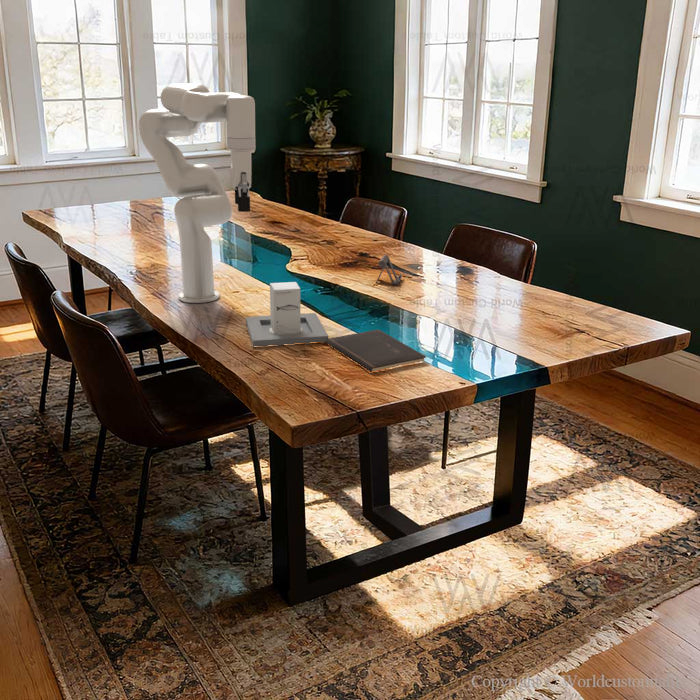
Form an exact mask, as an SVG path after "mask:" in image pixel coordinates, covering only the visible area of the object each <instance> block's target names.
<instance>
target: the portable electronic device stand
mask: <svg viewBox="0 0 700 700" xmlns="http://www.w3.org/2000/svg"><path fill="white" fill-rule="evenodd" d="M387 262H388V264H389V266H390V269H391V271H392V274H393V276H394V278H393V277H392V274H391V271H390V269H389V267H388V265H387ZM378 267H380V268H382V269H381V271H380V273H379V275H378V276H377V279H376V282H375V284H377V283H378V281H379V280H380V278H381V276H382V273H383V271H384V269H386V272H387V275H388V277H389V279H390V281H391V284H392V285H393V286H394V287H397V286H398V285H399V283H400V282H401V280H402V278H403V277H402V273H399V275H397V274H396V271H395V270H394V266H393V264H392V261H391V259H390V257H389V255H387V254H384V255H383V256H382V257H381V258H380V260H379V261H378Z"/></svg>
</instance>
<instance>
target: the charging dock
mask: <svg viewBox="0 0 700 700" xmlns="http://www.w3.org/2000/svg"><path fill="white" fill-rule="evenodd" d="M300 321H301V332H300V333H282V334H274V332H273V330H272V328H271V315H258V316H245V326H246V325H247V326H246V329H247V328H248V329H247V331H248V335H250V336H249V339H250V338H251V339H250V342H252V343H251V345H253V346H252V348H253V347H254V346H268V345H284V344H294V343H310V342H327V340H328V339H329V335H328V332H327V331H326V329H325V327H324V326H323V324H322V322H321V320H320V318H319V317H318V315H317V313H316V312H314V313H313V312H311V313H300Z"/></svg>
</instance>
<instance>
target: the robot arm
mask: <svg viewBox="0 0 700 700" xmlns="http://www.w3.org/2000/svg"><path fill="white" fill-rule="evenodd" d="M160 102H161V105H162V106H163V107H162V108H153V109H149V110H147V111H144V112H143V113H142V114H141V115H140V117H139V119H138V130H139V135H140V139H141V141H142V143H143V145H144V147H145V149H146V150H147V152H148V153H149V155H150V156H151V157H152V158H153V160H154V162H155V163H156V166H157V168H158V170H159V172H160V174H161V176H162V179H163V181H164V183H165V186H166V187H167V190H168V191H169V193H170V194H171V195H172V196H173V197H174V198H180V199H179V200H177V202H176V203H175V205H174V210H173V211H174V218H175V222H176V225H177V229H178V237H179V246H180V247H179V248H180V261H181V262H180V264H181V277H182V278H181V279H182V291H181V292H180V293H178V300H180V301H181V302H183V303H190V304H203V303H210V302H213V301H216V300H218V299H219V298H220V292H219V291H218V290H215V279H214V278H215V277H214V265H213V264H214V260H213V245H212V240H211V239H212V238H211V237H210V235H209V234H208V233H207V232H206V231H205V228H207V227H211V226H212V227H213V226H218V225H223V224H226V223H227V222H229V221H230V220H231V219H232V216H233V207H232V204H231V201H230V199H229V196H228V194H227V192H226V190H225V188H224V186H223V184H222V181H221V180H220V178H219V174H218V172H217V171H216V170H215V169H214V168H213V167H212V166H211V165H210V164H207V163H198V164H197V163H196V164H195V163H194V164H190V163H188V161H187V160H186V158H185V156H184V153H183V151H181V149H180V148H179V147H178V145H176V144H174V143H173V142H172V141H170V140H169V139H168V138H178V137H179V138H181V137H188V136H189V137H190V136H193V135H194V134H195V133H196V132H197V131H198V129H199V127H201V125H202V123H207V124H208V123H219V122H220V123H222V122H225V123H226V146H227V147H226V149H227V151H230V185H231V186H232V188H233V189H234V204H236V205H237V211H238V212H239V213H243V212H244V213H248V212H250V211H251V196H250V188H252V152H253V151H256V103H255V99H254V97H252V96H250V95H243V94H240V93H238V92H232V91H231V92H230V91H229V92H226V91H225V92H210V91H209V89H208V87H207V86H205V84H203V83H199V82H197V83H196V82H193V83H192V82H191V83H190V82H188V83H187V82H185V83H171V84H169V85H167V86H164V88H163V90H162V91H161V93H160Z"/></svg>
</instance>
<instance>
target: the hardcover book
mask: <svg viewBox="0 0 700 700" xmlns="http://www.w3.org/2000/svg"><path fill="white" fill-rule="evenodd" d="M327 344H329V345H330V346H332V347H333V348H335V349H336V350H338V351H339V352H341V353H343V354H344V355H345V356H347V357H349V358H350V359H352V360H353V361H355V362H357V363H358V364H360V365H361V366H363V367H364V368H366V369H367V370H369V371H370V372H372V371H376V370H381V369H385V368H390V367H395V366H399V365H404V364H409V363H415V362H420V361H424V362H425V359H426V358H427V355H424V354H422V352H419V351H418V350H415V349H414V348H412V347H411V346H409V345H407V344H405V343H403V342H402V341H400V340H398V339H396V338H394V337H392V336H391V335H390V334H388V333H385V332H384V331H382V330H380V329H378V328H377V329H373V330H368V331H363V332H356V333H352V334H347V335H341V336H340V335H339V336H336V337H330V338H329V337H328V340H327V343H326V345H327Z"/></svg>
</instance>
